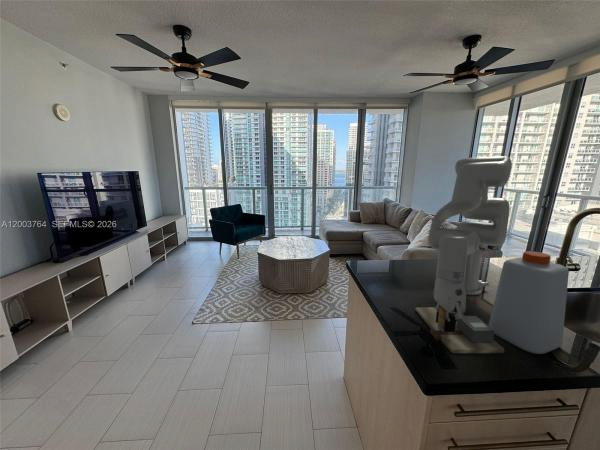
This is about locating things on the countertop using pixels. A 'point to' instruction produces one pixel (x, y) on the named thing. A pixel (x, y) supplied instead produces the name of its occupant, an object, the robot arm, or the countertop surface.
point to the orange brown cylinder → (442, 318)
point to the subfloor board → (456, 336)
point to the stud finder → (475, 329)
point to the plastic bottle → (531, 303)
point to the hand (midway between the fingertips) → (444, 326)
